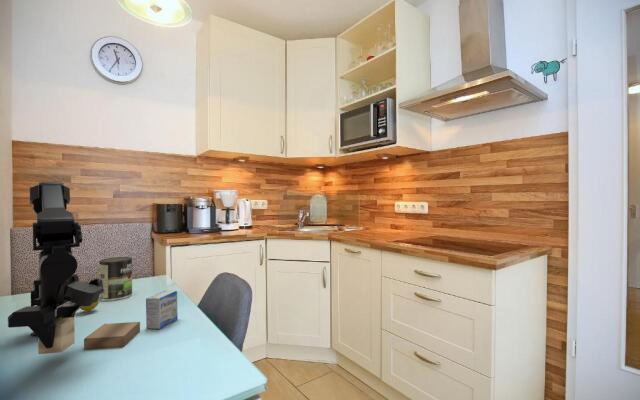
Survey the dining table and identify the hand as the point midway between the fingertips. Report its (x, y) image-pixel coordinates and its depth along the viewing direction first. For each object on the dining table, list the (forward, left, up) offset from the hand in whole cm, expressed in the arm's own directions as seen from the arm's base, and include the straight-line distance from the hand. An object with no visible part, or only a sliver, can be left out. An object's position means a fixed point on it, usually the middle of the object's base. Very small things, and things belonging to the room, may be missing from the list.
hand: (57, 342), depth 69 cm
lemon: (-11, +33, -4) cm, 35 cm away
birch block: (0, 0, -1) cm, 1 cm away
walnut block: (+7, +10, -5) cm, 13 cm away
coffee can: (-10, +49, -4) cm, 50 cm away
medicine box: (+16, +19, -5) cm, 25 cm away
